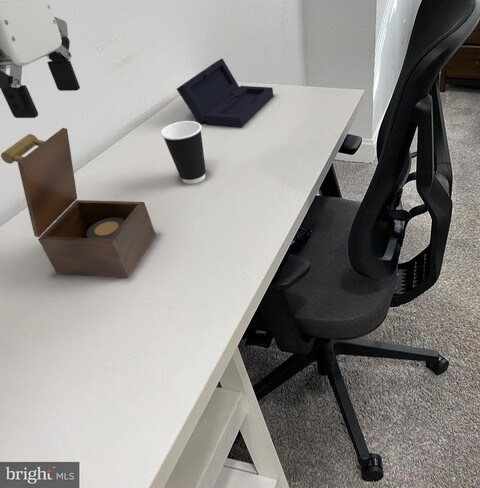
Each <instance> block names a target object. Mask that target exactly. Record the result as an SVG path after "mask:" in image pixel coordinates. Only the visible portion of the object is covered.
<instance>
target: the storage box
mask: <svg viewBox="0 0 480 488" xmlns="http://www.w3.org/2000/svg"><path fill="white" fill-rule="evenodd" d="M176 91H177V92H178V94H179V95H180V97H181V99H182V100H183V102H184V104H185V105H186V106H187V108H188V109H189V111H190V112H191V114H192V115H193V117H194V118H195V120H196V122H197V123H199V124H200V125H201V124H202V123H205V122H206V125H208V126H217V127H219V126H220V127H231V128H243V127H244V126H245V125H246V124H247V123H248V122H249V121H250V120H251V119H252V118H253V117H254V116H255V115H256V114H257V113H258V112H259V111H260V110H261V109H262V108H263V107H265V105H267V103H268V102H269V101H270V100H271V99H272V98H274V89H273V86H272V87H270V86H249V85H239V84H238V82H237V80H236V78H235V77H234V75H233V74H232V72H231V70H230V68H229V67H228V65H227V64H226V61H225V60H224V59H223V58H222V57H221V58H220V59H218V60H217V61H215V62H213V63H212V64H210V65H209V66H208V67H206V68H205V69H203V70H202V71H200V72H198V73H197V74H196V75H194V76H193V77H191V78H189V79H188V80H187V81H186V82H184V83H183V84H181V85H179V87H177V88H176Z"/></svg>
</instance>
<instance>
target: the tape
mask: <svg viewBox="0 0 480 488" xmlns="http://www.w3.org/2000/svg"><path fill="white" fill-rule="evenodd" d="M124 221H125V220H124V219H122V218H107V219H104V220H101V221H99V222H97V223H95V224H93V225H92V226H91V227H90V228H89V229H88V230H87V234H86V235H87V238H101V239H111V238H112V236H113V235H114V234H115V233H116V231H117V230H118V229H119V228H120V226H121V225H122V224H123V222H124Z"/></svg>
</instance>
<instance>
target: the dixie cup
mask: <svg viewBox="0 0 480 488" xmlns="http://www.w3.org/2000/svg"><path fill="white" fill-rule="evenodd" d="M202 128H203V127H202V124H201V123H200V124H199V123H198V121H194V120H183V121H177V122H174V123H171V124H168V125H166V126H165V127H163V128H162V129H161V131H160V136H161V138H163V140H164V143H165V145H166V147H167V150H168V151H169V154H170V156H171V159H172V161H173V163H174V166H175V168H176V170H177V174H178V175H179V177H180V179H181V180H182V182H183V183H185V184H191V185H192V184H197V183H200V182H202V181H203V180H205V178H206V173H207V169H206V161H205V152H204V145H203V137H202V136H203V135H202Z"/></svg>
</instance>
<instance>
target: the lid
mask: <svg viewBox="0 0 480 488" xmlns="http://www.w3.org/2000/svg"><path fill="white" fill-rule="evenodd" d="M36 146H37V147H36ZM34 147H36V148H34ZM33 148H34V149H33ZM32 149H33V150H32ZM31 150H32V151H31ZM29 151H30V152H29ZM28 152H29V153H28ZM27 153H28V154H27ZM25 154H27V155H25ZM24 155H25V156H24ZM0 158H1V160H2V161H3V162H4V163H6V164H8V165H9V164H11V165H12V164H13V163H17V167H18V171H19V174H20V179H21V184H22V188H23V193H24V196H25V197H24V198H25V200H26V205H27V210H28V214H29V219H30V223H31V226H32V231H33V236H34V237H35V238H40V237H41V235H42V234H43V233H44V232H45V231H46V230H47V229H48V228H49V227H50V226H51V225H52V224H53V223H54V222H55V221H56V220H57V219H58V218H59V217H60V216H61V215H62V214H63V213H64V212H65V211H66V210H67V209H68V208H69V207H70V206H71V205H72V204H73V203H74V202H75V201H76V200H78V193H77V187H76V179H75V173H74V166H73V158H72V153H71V146H70V139H69V132H68V128H66V127H62V128H60V129H59V130H58V131H56V132H55V133H54V134H52V136H50V137H49V138H47V139H46V140H45V141H44V140H41V139H39V138H37V136H36V135H35V134H32V133H29V134H27V135H25V136H23V137H22V138H21V139H19V140H18V141H17V142H15V143H14V144H12V145H11V146H10V147H8V148H7V149H6V150H4V151H3V152H2V153H1V154H0Z"/></svg>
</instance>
